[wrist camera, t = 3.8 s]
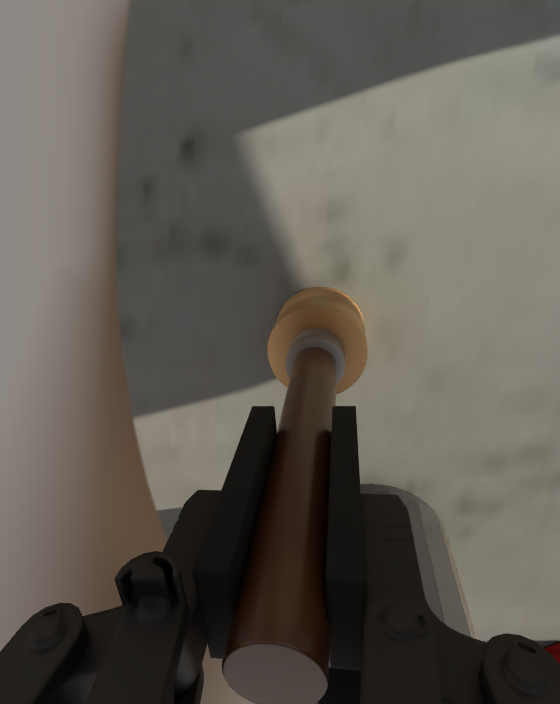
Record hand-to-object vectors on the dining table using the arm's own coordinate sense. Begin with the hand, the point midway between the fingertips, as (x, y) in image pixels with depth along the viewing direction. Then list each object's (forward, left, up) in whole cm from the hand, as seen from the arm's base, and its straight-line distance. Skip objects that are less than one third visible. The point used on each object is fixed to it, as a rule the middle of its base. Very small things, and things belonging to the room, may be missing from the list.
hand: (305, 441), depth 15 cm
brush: (0, 0, -11) cm, 11 cm away
